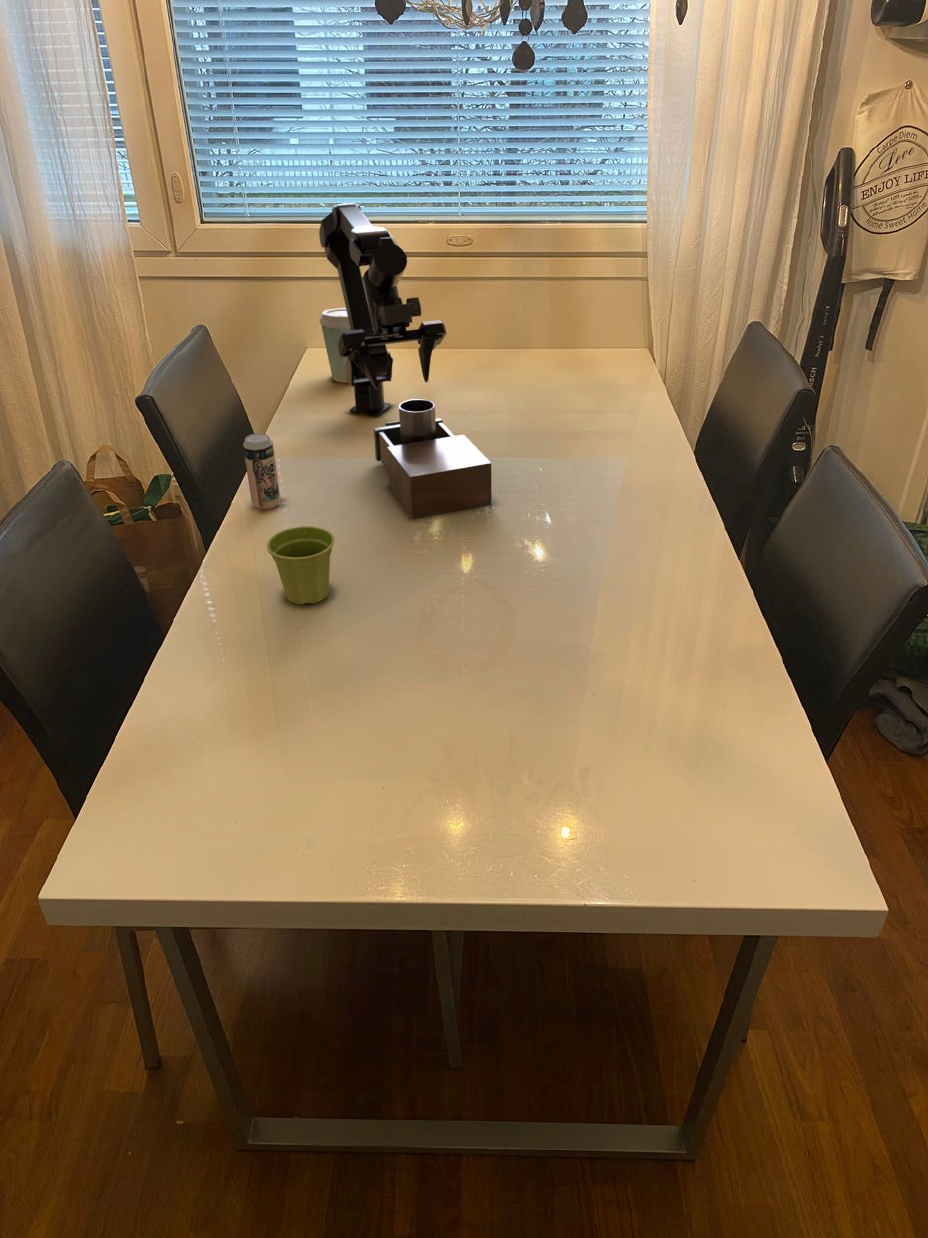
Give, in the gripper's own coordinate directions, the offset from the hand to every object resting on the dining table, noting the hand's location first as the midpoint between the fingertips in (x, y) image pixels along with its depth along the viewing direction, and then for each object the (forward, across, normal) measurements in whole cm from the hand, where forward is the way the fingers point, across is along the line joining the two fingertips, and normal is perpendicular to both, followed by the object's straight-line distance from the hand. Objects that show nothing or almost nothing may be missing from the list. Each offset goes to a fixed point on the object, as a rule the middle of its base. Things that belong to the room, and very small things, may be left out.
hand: (402, 384), depth 170 cm
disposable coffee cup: (-17, 0, +46) cm, 48 cm away
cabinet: (+22, +1, -6) cm, 22 cm away
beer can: (+17, -28, 0) cm, 33 cm away
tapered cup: (+14, +1, +2) cm, 14 cm away
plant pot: (+36, -27, -24) cm, 51 cm away
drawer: (+13, +1, +5) cm, 14 cm away
